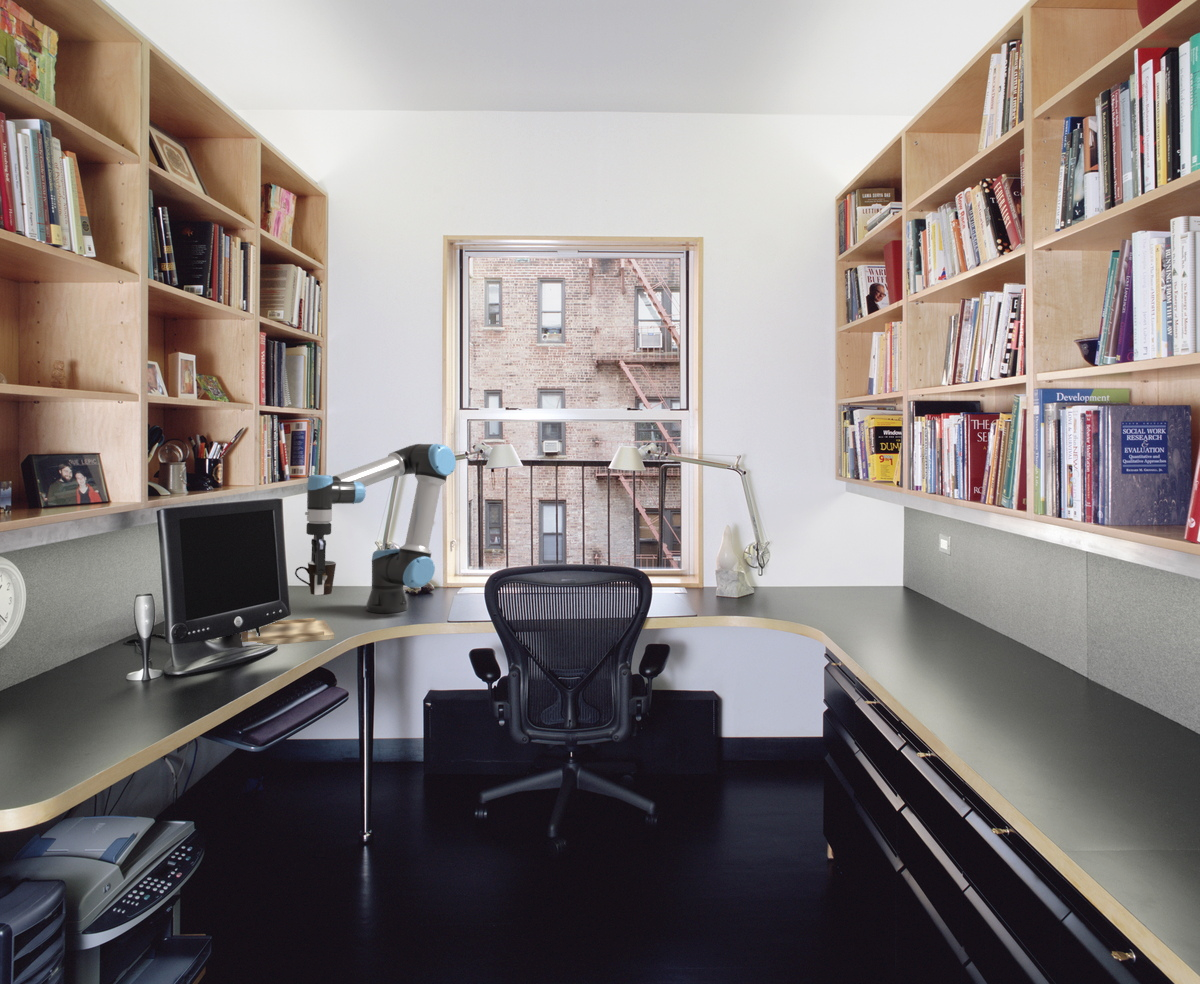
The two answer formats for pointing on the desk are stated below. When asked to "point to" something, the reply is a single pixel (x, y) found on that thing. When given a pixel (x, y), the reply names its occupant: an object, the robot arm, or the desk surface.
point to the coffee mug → (327, 576)
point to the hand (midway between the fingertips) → (317, 592)
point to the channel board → (291, 632)
